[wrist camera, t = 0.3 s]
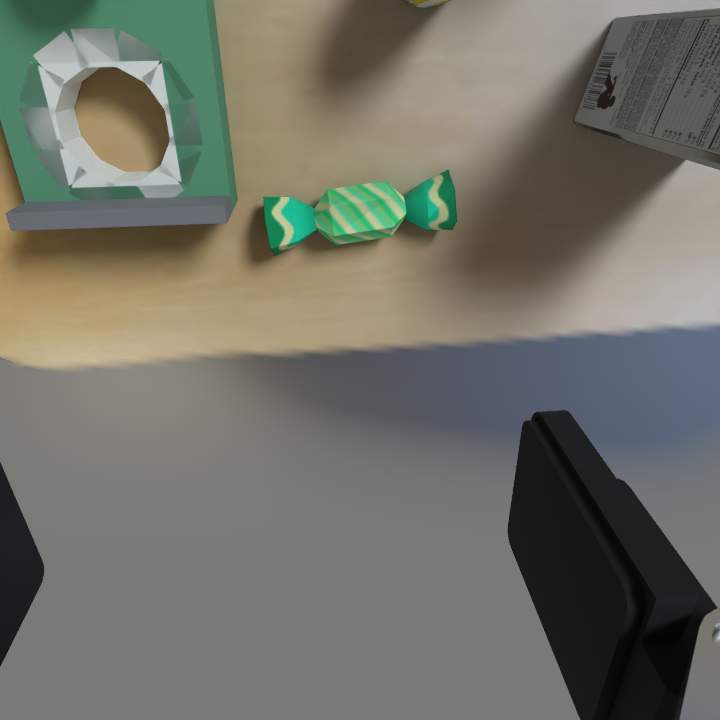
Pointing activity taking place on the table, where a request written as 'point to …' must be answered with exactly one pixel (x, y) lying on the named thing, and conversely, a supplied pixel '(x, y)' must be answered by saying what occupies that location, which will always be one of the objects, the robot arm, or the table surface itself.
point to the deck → (60, 126)
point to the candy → (360, 213)
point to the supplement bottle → (425, 2)
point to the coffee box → (659, 84)
